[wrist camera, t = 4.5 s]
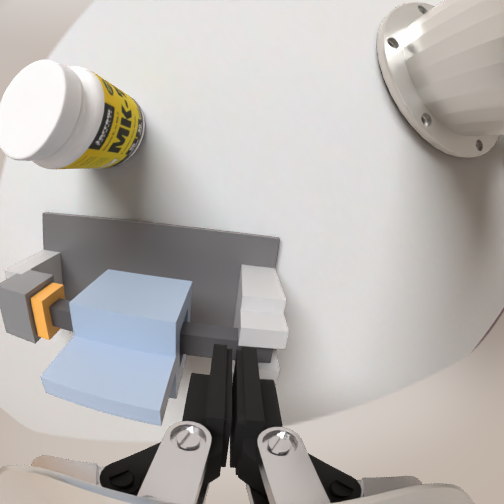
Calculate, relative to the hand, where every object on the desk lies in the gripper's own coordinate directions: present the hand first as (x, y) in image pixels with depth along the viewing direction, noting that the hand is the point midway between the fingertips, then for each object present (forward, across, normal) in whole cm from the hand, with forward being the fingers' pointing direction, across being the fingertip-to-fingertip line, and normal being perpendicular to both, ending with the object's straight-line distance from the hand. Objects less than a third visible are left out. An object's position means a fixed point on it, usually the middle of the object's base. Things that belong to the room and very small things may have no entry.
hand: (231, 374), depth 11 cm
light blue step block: (+4, +5, 0) cm, 6 cm away
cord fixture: (+8, +6, 0) cm, 9 cm away
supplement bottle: (+8, +9, -10) cm, 15 cm away
